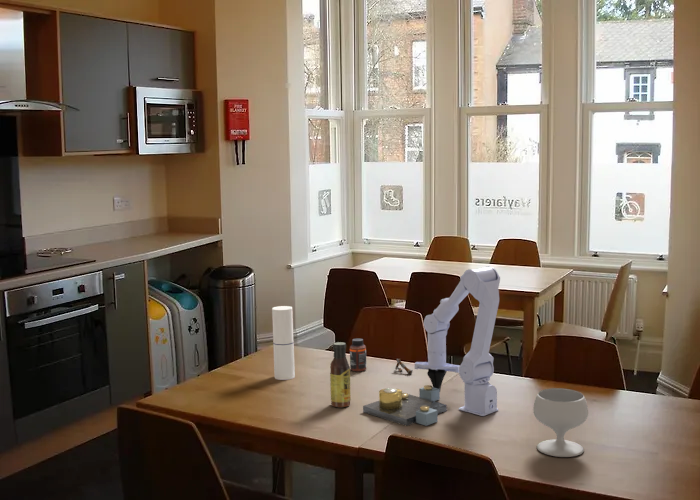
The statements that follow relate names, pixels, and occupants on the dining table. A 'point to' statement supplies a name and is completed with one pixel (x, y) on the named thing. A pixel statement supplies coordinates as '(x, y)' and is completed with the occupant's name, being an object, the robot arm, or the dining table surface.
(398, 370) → the brown angled frame
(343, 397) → the sauce bottle
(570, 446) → the chalice
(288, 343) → the cylindrical container
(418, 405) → the base
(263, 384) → the dining table surface
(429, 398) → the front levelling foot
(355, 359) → the supplement bottle
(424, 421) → the block with brass knob
